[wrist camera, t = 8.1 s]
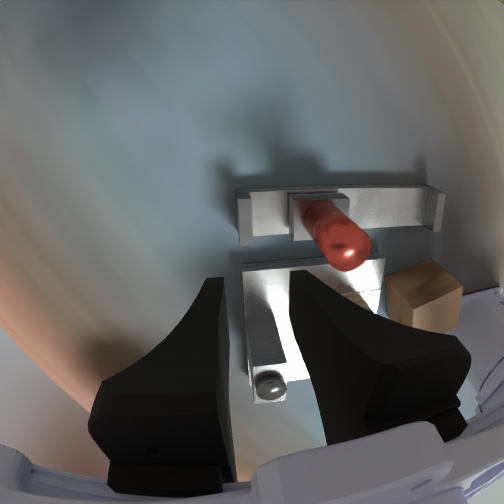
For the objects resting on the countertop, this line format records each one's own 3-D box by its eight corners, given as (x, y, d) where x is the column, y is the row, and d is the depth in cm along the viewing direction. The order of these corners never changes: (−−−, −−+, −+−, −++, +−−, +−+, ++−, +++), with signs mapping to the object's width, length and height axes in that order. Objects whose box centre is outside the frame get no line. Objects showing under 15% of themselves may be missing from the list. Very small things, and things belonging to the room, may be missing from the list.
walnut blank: (430, 257, 25) (463, 286, 20) (429, 296, 27) (457, 326, 22) (384, 276, 25) (413, 309, 21) (386, 315, 27) (411, 349, 23)
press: (379, 251, 24) (425, 299, 18) (357, 360, 29) (384, 412, 23) (241, 263, 23) (251, 324, 17) (248, 376, 28) (257, 437, 22)
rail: (428, 185, 22) (446, 193, 20) (423, 220, 23) (440, 231, 21) (235, 189, 21) (237, 199, 18) (237, 231, 22) (240, 246, 20)
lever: (341, 192, 20) (384, 223, 15) (339, 229, 21) (377, 269, 16) (289, 194, 20) (316, 227, 14) (288, 232, 21) (313, 276, 16)
